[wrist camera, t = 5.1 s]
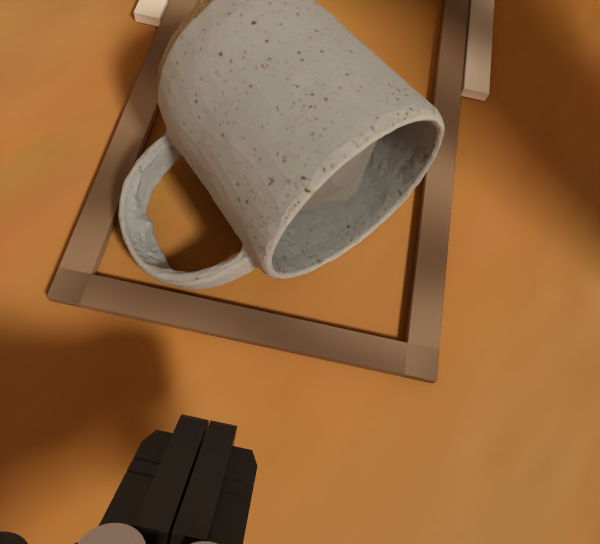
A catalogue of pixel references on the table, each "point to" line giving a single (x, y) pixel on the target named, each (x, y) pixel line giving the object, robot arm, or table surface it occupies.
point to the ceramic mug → (280, 137)
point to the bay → (258, 324)
